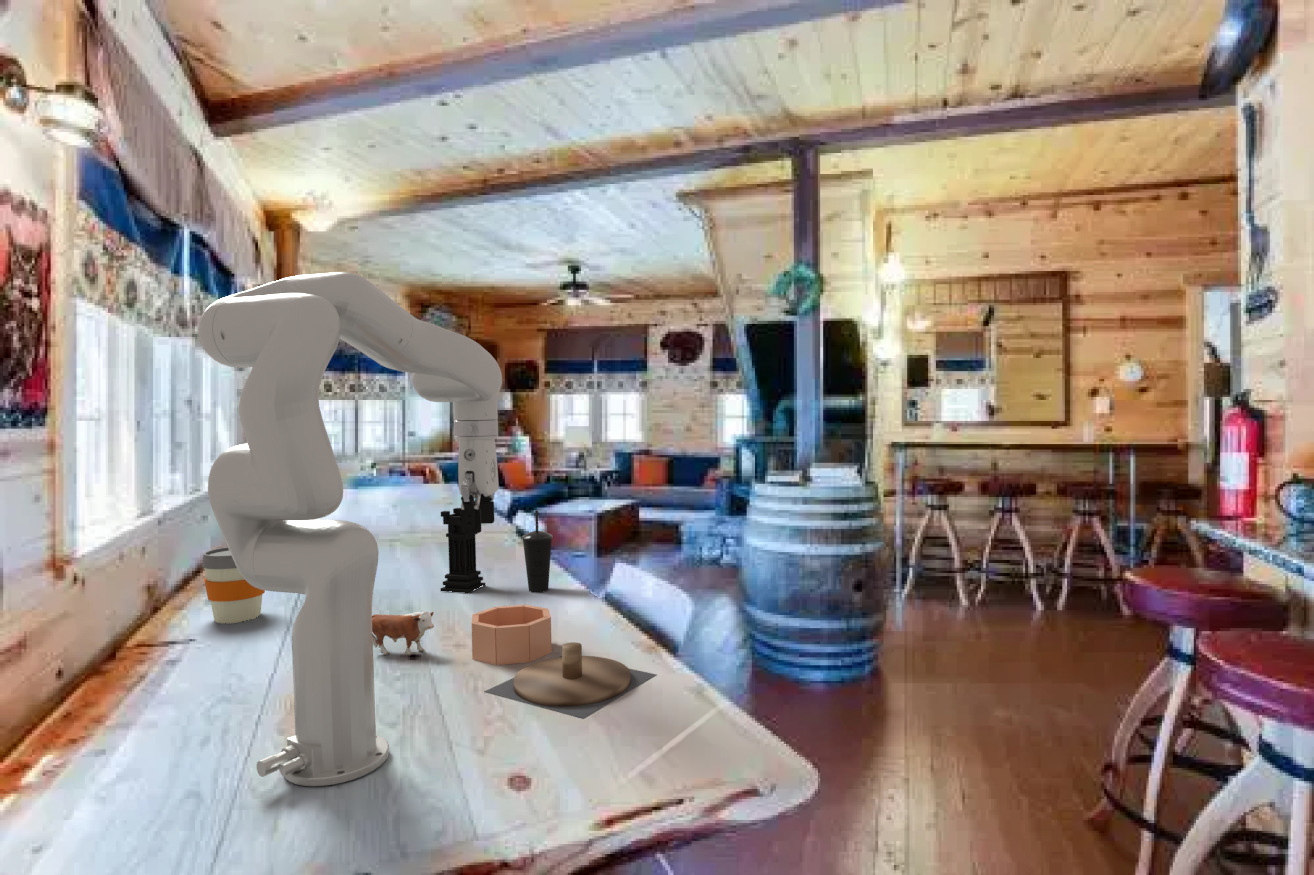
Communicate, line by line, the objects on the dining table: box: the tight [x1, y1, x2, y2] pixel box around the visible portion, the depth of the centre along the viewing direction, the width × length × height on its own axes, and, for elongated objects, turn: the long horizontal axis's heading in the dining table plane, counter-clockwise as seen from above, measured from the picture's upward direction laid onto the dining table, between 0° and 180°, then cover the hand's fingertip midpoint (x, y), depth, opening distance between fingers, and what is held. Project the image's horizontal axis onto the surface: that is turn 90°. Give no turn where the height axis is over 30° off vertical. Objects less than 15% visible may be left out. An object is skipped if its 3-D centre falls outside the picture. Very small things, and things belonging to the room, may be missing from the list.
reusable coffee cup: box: [201, 546, 266, 624], centre depth 163 cm, size 13×12×15 cm
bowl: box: [471, 604, 553, 666], centre depth 137 cm, size 14×14×7 cm
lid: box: [513, 641, 631, 707], centre depth 120 cm, size 19×19×6 cm
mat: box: [483, 655, 658, 720], centre depth 120 cm, size 20×20×1 cm
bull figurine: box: [372, 610, 435, 656], centre depth 138 cm, size 4×13×8 cm, turn 78°
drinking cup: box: [521, 509, 554, 593], centre depth 183 cm, size 8×8×20 cm
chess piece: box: [440, 507, 486, 594], centre depth 186 cm, size 8×8×20 cm
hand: (478, 527), depth 130 cm, fingers open, 9 cm apart
